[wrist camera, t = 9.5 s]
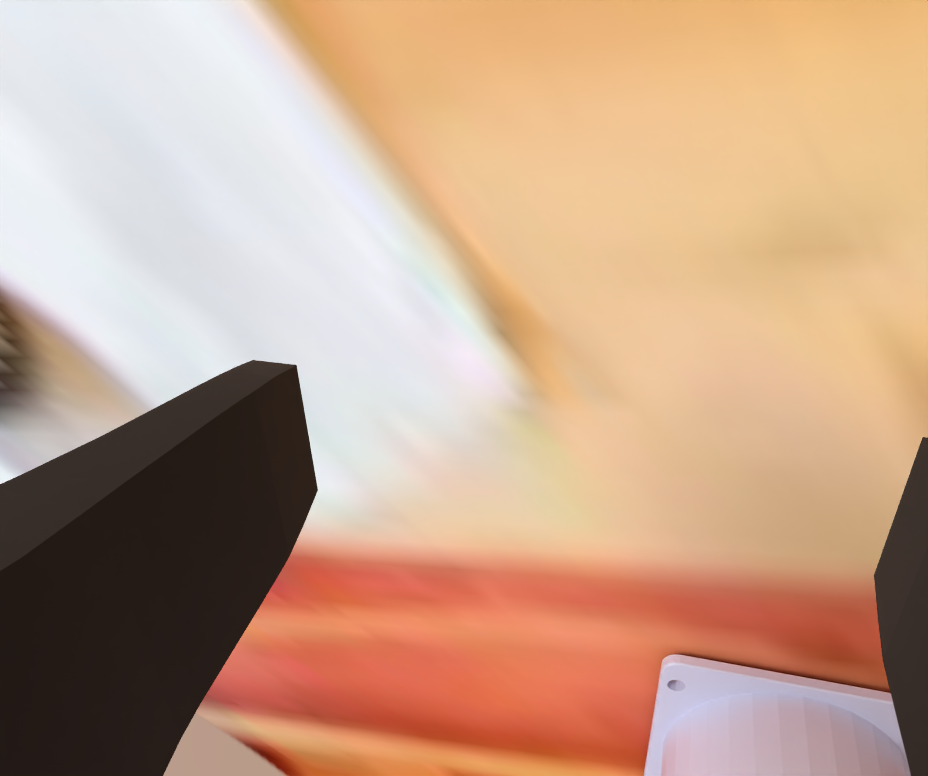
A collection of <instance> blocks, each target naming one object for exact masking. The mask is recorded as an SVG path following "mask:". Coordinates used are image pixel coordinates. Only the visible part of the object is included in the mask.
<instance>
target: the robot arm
mask: <svg viewBox="0 0 928 776" xmlns="http://www.w3.org/2000/svg"><path fill="white" fill-rule="evenodd" d="M317 491H318V489H317V483H316V477H315V471H314V466H313V460H312V454H311V448H310V442H309V436H308V430H307V425H306V419H305V413H304V407H303V401H302V395H301V389H300V384H299V378H298V372H297V366H296V365H290V364H282V363H273V362H264V361H256V360H252V361H250V362H247V363H245V364H242V365H240V366H237V367H235V368H233V369H231V370H229V371H227V372H224V373H222V374H220V375H218V376H216V377H214V378H212V379H210V380H208V381H206V382H204V383H202V384H200V385H199V386H197V387H195V388H193V389H191V390H189V391H187V392H185V393H183V394H181V395H179V396H177V397H176V398H174V399H172V400H170V401H168V402H166V403H164V404H162V405H160V406H158V407H156V408H155V409H153V410H151V411H149V412H147V413H145V414H143V415H141V416H139V417H137V418H135V419H134V420H132V421H130V422H128V423H126V424H124V425H122V426H120V427H118V428H116V429H114V430H112V431H111V432H109V433H107V434H105V435H103V436H101V437H99V438H97V439H95V440H93V441H91V442H88V443H86V444H84V445H82V446H80V447H78V448H76V449H74V450H72V451H70V452H68V453H66V454H64V455H61V456H59V457H57V458H55V459H53V460H51V461H49V462H47V463H45V464H43V465H41V466H39V467H36V468H34V469H32V470H30V471H28V472H26V473H24V474H22V475H20V476H18V477H16V478H13V479H11V480H9V481H7V482H4V483H2V484H0V776H163V774H164V772H165V770H166V768H167V766H168V764H169V762H170V760H171V758H172V756H173V754H174V751H175V750H176V747H177V745H178V743H179V741H180V739H181V737H182V735H183V734H184V732H185V730H186V728H187V727H188V725H189V723H190V721H191V719H192V718H193V716H194V714H195V712H196V710H197V709H198V707H199V705H200V703H201V702H202V700H203V698H204V697H205V695H206V694H207V692H208V690H209V689H210V687H211V685H212V684H213V682H214V680H215V679H216V677H217V676H218V674H219V672H220V671H221V669H222V667H223V666H224V664H225V662H226V661H227V659H228V658H229V656H230V654H231V653H232V651H233V649H234V648H235V646H236V644H237V643H238V641H239V640H240V638H241V636H242V635H243V633H244V631H245V630H246V628H247V627H248V625H249V623H250V622H251V620H252V618H253V617H254V615H255V613H256V612H257V610H258V609H259V607H260V605H261V604H262V602H263V600H264V599H265V597H266V595H267V593H268V592H269V590H270V588H271V587H272V585H273V583H274V582H275V580H276V578H277V577H278V575H279V573H280V572H281V570H282V568H283V567H284V565H285V563H286V561H287V560H288V558H289V556H290V554H291V552H292V549H293V547H294V545H295V543H296V541H297V538H298V536H299V534H300V532H301V529H302V527H303V525H304V522H305V520H306V518H307V515H308V513H309V510H310V508H311V505H312V503H313V500H314V498H315V496H316V493H317ZM874 579H875V590H876V601H877V612H878V622H879V631H880V639H881V648H882V656H883V662H884V667H885V671H886V675H887V680H888V684H889V688H890V692H891V693H888V692H882V691H877V690H871V689H866V688H861V687H855V686H850V685H844V684H839V683H833V682H828V681H822V680H817V679H811V678H806V677H800V676H795V675H789V674H784V673H778V672H773V671H767V670H762V669H756V668H751V667H746V666H740V665H735V664H729V663H724V662H718V661H713V660H707V659H702V658H696V657H691V656H685V655H678V654H673V655H669V656H667V657H665V658H664V659H663V661H662V664H661V670H660V676H659V683H658V689H657V695H656V701H655V707H654V714H653V720H652V726H651V732H650V738H649V745H648V751H647V757H646V763H645V769H644V776H928V438H925V437H923V438H922V441H921V444H920V446H919V449H918V452H917V455H916V458H915V461H914V463H913V466H912V469H911V472H910V475H909V478H908V481H907V483H906V486H905V489H904V492H903V495H902V498H901V500H900V503H899V506H898V509H897V512H896V515H895V517H894V520H893V523H892V526H891V529H890V532H889V534H888V537H887V540H886V543H885V546H884V549H883V551H882V554H881V557H880V560H879V563H878V566H877V568H876V571H875V574H874Z"/></svg>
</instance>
